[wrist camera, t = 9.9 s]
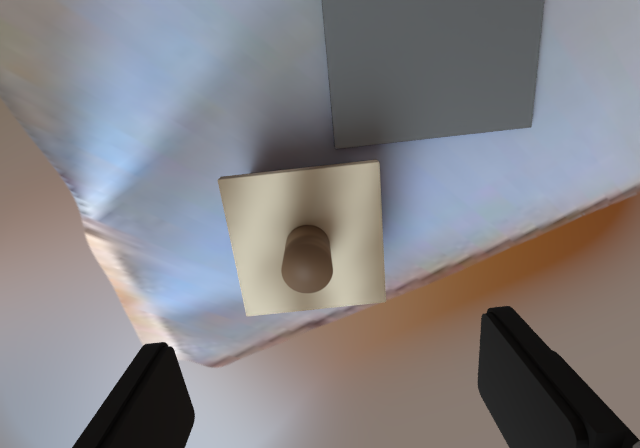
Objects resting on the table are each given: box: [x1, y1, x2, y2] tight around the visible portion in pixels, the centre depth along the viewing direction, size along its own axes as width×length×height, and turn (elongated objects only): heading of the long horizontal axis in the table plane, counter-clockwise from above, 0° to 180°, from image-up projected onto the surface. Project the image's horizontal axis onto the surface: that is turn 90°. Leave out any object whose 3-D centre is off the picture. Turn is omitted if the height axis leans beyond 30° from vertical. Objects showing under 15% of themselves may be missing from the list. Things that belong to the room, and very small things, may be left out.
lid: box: [218, 160, 386, 316], centre depth 23 cm, size 11×11×5 cm
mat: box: [322, 0, 544, 149], centre depth 25 cm, size 16×16×1 cm
